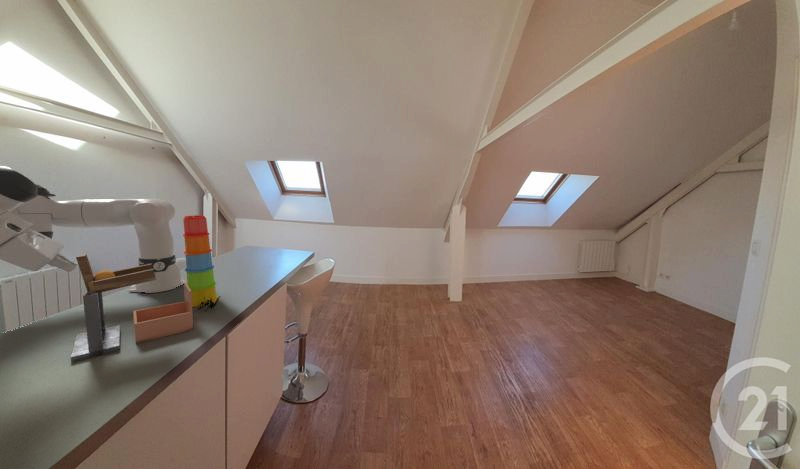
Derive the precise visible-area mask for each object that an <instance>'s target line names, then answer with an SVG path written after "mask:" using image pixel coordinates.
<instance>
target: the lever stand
mask: <svg viewBox="0 0 800 469" xmlns="http://www.w3.org/2000/svg"><path fill="white" fill-rule="evenodd" d="M82 299H83V300H82V301H83V310H84V320H85V329H86V332H81V333H77V334H76V338H75V341H74V345H73V348H72V351H71V354H70V363H71V364H72V363H75V362H80V361H83V360H87V359H92V358H96V357H99V356H103V355H107V354H111V353H115V352H116V353H117V352H119V351H120V350H121V344H120V343H121V325H114V326H110V327H106V322H105V312H104V309H105V308H104V299H103V292H101V293H98V292H93V293H87V292H86V293H83V294H82Z"/></svg>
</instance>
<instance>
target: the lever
mask: <svg viewBox="0 0 800 469" xmlns="http://www.w3.org/2000/svg"><path fill="white" fill-rule="evenodd" d="M75 259H76V262H77V265H78V267H79V271H80V274H81V276H82V279H83V282H84V285H85V288H86V293H93V292H98V293H101V292H102V293H103V292H104V293H105V292H110V291H115V290H117V289H121V288H126V287H132V286H133V285H135V284H139V283H144V282H148V281H152V280H156V277H155V273H154V269H153V267H152V264H147V265H142V266H139V265H138V266H137V265H136V266H132V267H128V268H122V269H117V270H113V271H112V270H111V272H113V273H114V274H115V277H112V278H107V279H103V280H98V281H94V276H95V275H96V274H94V273H93V271H92V266H91V263H90V260H89V258H88V255H87V253H81V254H77V255H76V256H75Z"/></svg>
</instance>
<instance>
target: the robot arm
mask: <svg viewBox="0 0 800 469" xmlns="http://www.w3.org/2000/svg"><path fill="white" fill-rule="evenodd" d="M50 197H52V198H53V197H56V194H54V193H51V192H50V191H49V190H48V189H47V188H45V187H43V186H42V185H40V184H36V183H35V182H34V181H33V180H32V179H31V178H30V177H28V176H27V175H25V174H24V173H23V172H22V173H21V172H20V171H18V170H16V169H14V168H11V167H8V166H5V165H0V260H1V261H3V262H6V263H9V264H11V265H14V266H16V267H19V268H22V269H24V270H29V271H31V272H32V271H33V272H37V271H39V270H41V269H42V268H43V267H45V266H46V265H49V266H50V267H54V268H57V269H61V270H63V271H65V272H68V273H71V272H72V271H74V270H75V269H76V268H77V265H78V263H75V262H74V261H72V260H70V259H69V258H67V257H66V256H65V255H63V254H61V253H60V252H61V250H62V249H63V248H64V245H63V244H61V243H60V242H59V241H57V240H54V238H53V236H54V231H53V226H56V227H63V228H80V229H81V228H82V229H83V228H84V229H85V228H89V229H90V228H91V229H92V228H113V227H115V228H117V227H128V226H134V230H135V232H136V235H137V241H138V248H139V250H138V252H139V257H138V266H142V265H147V264H152V267H153V269H154V273H155V277H156V280H152V281H148V282H144V283H139V284H135V285H131V286H130V288H132V287H134V286H136V287H134V288H132V289H130V288H129V289H128V292H129V293H141V292H145V293H146V294H151V293H162V292H166V291H170V290H174V289H177V288H178V286H179V287H181V286H184V285H183V284H184V282H186V283H187V280H184V279H182V273H181V267H180V266H179V265H177V263H176V260H177V259H176V255H175V251H174V250H175V249H174V246H175V245H174V237H173V235H172V232H171V231H172V230H171V226H170V221H171V220H172V219H173V218H175V217H174V216H175V214H176V210H175V207H174V205H173V204H172V203H171V202H169V201H167V200H165V199H162V198H126V199H125V198H122V199H121V198H119V199H116V198H115V199H114V198H113V199H109V198H107V199H99V198H97V199H94V198H93V199H91V198H90V199H89V198H88V199H71V200H70V199H69V200H55V199H51V198H50ZM140 284H141V285H140ZM138 285H139V286H138ZM180 285H181V286H180ZM176 287H177V288H176ZM145 293H144V294H145Z"/></svg>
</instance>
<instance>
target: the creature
mask: <svg viewBox="0 0 800 469" xmlns="http://www.w3.org/2000/svg"><path fill="white" fill-rule="evenodd" d="M217 297H218V298H217V300H216V302H214V303H213V302H212V299H211V298H210V299H211V300H206V301H207V303H206V302H205V305H204V306H203V304H204V302H201V304H202V306H201V304H199V305H200V307H199V308H198V309H196V310H195V312H198V311H199V310H200V311H202V308H203V307H207V306H208V307H207V308H206V309H205V312H207V310H209V309H210V310H213V309H214V308H215V307H216V305H217V304H218V300H219V299H220V298H221V297H222V296H221V295H220V296H217ZM204 299H205V298H204ZM209 302H210V303H209ZM199 305H198V306H199ZM200 311H199V312H200Z"/></svg>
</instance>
